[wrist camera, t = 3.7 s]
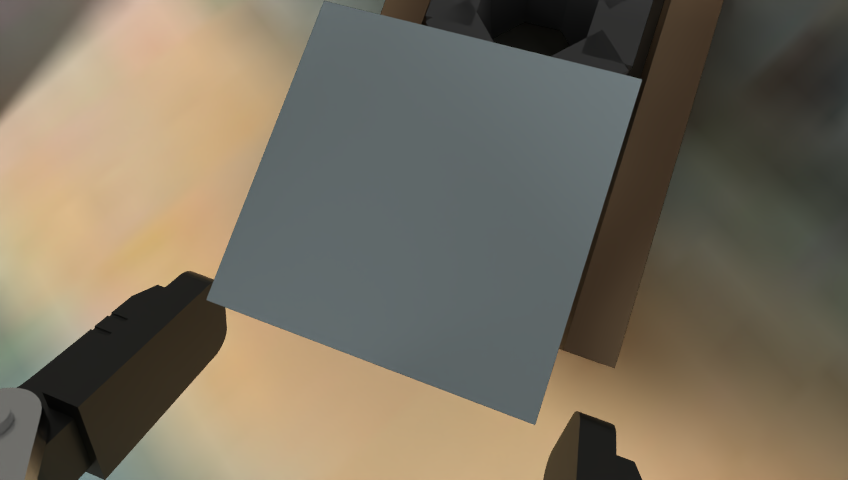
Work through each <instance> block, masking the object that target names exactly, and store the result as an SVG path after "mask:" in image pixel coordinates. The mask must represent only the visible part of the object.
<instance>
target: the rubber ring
mask: <svg viewBox="0 0 848 480" xmlns="http://www.w3.org/2000/svg"><path fill="white" fill-rule="evenodd" d="M652 3H653V0H431V2H430V5H429V7H428V10H427V13H426V15H425V16H426V24H427V26H429V27H433V28H437V29H441V30H445V31H449V32H453V33H457V34H461V35H465V36H469V37H473V38H477V39H481V40H485V41H489V42H493V43H494V41H493V40H492V38H494V37H496V36H498V35H500V34H502V33H504V32H506V31H508V30H510V29H512V28H514V27H515V26H517V25H519V24H521V23H523V22H527V23H531V24H535V25H540V26H544V27H548V28H552V29H557V30H561V32H562V34H563V35H564V37H565V39H566V40H567V42H568V43H569V45H570V47H568V48H566V49H564V50H562V51H560V52H558V53H556V54H554V55H552V56H550V57H554V58H558V59H562V60H566V61H570V62H574V63H578V64H582V65H587V66H591V67H595V68H599V69H603V70H607V71H611V72H615V73H619V74H623V75H628V74H629V72H630V70H631V68H632V66H633V63H634V60H635V57H636V54H637V51H638V47H639V44H640V41H641V38H642V35H643V31H644V28H645V25H646V22H647V19H648V15H649V12H650V9H651V6H652Z"/></svg>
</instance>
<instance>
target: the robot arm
mask: <svg viewBox="0 0 848 480" xmlns="http://www.w3.org/2000/svg"><path fill="white" fill-rule="evenodd" d="M213 281H214V279H211V278H208V277H206V276H203V275H200V274H197V273H195V272H192V271H187V272H184V273H182V274H181V275H179V276H178V277H177V278H176V279H175V280H174V281H172V282H171V283H170V284H169V285H168V286H166V287H162V286H159V285H156V286H154V287H152V288H149V289H147V290H145V291H143V292H140V293H138V294H136V295H133V296H132V297H130V298H129V299H128V300H127V301H125V302H124V303H123V304H122V305H120V306H119V307H118V308H117V309H115V310H114V311H113V312H112V314H111V316H107V317H106V318H104V319H103V320H102V321H101V322H99V323H98V324H97V325H96V326H95V328H94V329H93V330H89V331H88V332H87V333H86V334H84V335H83V336H82V337H81V338H79V339H78V340H77V341H76V342H75V343H73V344H72V345H71V346H70V347H68V348H67V349H66V350H65V351H63V352H62V353H61V354H60V355H58V356H57V357H56V358H55V359H53V360H52V361H51V362H50V363H49V364H47V365H46V366H45V367H44V368H42V369H41V370H40V371H39V372H37V373H36V374H35V375H34V376H32V377H31V378H30V379H29V380H27V381H26V382H25V383H23V384H22V385H20V386H19V387H17V388H2V389H0V480H78V479H79V478H80V477H81V476H82V475H83V474H84V473H85V472H88V473H90V474H93V475H95V476H97V477H99V478H101V479H104V480H105V479H106V478H107V477H108V476H109V475H110V474H111V473H112V472H113V470H114V469H115V468H116V467H117V466H118V465H119V464H120V462H121V461H122V460H123V459H124V458H125V457H126V456H127V455H128V453H129V452H130V451H131V450H132V449H133V448H134V447H135V446H136V444H137V443H138V442H139V441H140V440H141V439H142V438H143V437H144V435H145V434H146V433H147V432H148V431H149V430H150V429H151V428H152V426H153V425H154V424H155V423H156V422H157V421H158V420H159V418H160V417H161V416H162V415H163V414H164V413H165V412H166V411H167V409H168V408H169V407H170V406H171V405H172V404H173V403H174V402H175V400H176V399H177V398H178V397H179V396H180V395H181V394H182V393H183V391H184V390H185V389H186V388H187V387H188V386H189V385H190V384H191V382H192V381H193V380H194V379H195V378H196V377H197V376H198V375H199V373H200V372H201V371H202V370H203V369H204V368H205V367H206V365H207V364H208V363H209V362H210V361H211V360H212V359H213V358H214V356H215V355H216V354H217V353H218V351H219V350H220V348H221V346H222V344H223V342H224V339H225V336H226V331H227V325H226V311H225V307H223V306H221V305H218V304H215V303H213V302H210V301H208V300H206V299H207V297H208V294H209V291H210V289H211V286H212V284H213ZM543 480H642V478H641V476H640V474H639V471H638V469H637V467H636V464H635V462H633V461H631V460H628V459H625V458H623V457H620V456H617V455H616V429H615V426H614V425H613V424H611V423H608V422H605V421H603V420H600V419H597V418H594V417H592V416H589V415H586V414H583V413H581V412H578V411H576V412H575V413H574V414H573V416H572V417H571V419H570V421H569V423H568V424H567V426H566V428H565V429H564V431H563V433H562V435H561V436H560V438H559V440H558V441H557V443H556V445H555V447H554V448H553V450H552V452H551V454H550V457H549V459H548V462H547V466H546V469H545V474H544V479H543Z"/></svg>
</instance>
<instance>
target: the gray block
mask: <svg viewBox="0 0 848 480" xmlns="http://www.w3.org/2000/svg"><path fill="white" fill-rule="evenodd" d="M641 82H642V79H639V78H635V77H631V76H627V75H623V74H619V73H615V72H611V71H607V70H603V69H599V68H595V67H591V66H587V65H582V64H578V63H574V62H570V61H566V60H562V59H558V58H554V57H550V56H546V55H542V54H538V53H534V52H530V51H526V50H522V49H518V48H514V47H510V46H506V45H502V44H497V43H493V42H489V41H485V40H481V39H477V38H473V37H469V36H465V35H461V34H457V33H453V32H449V31H445V30H441V29H437V28H433V27H429V26H425V25H421V24H417V23H412V22H408V21H404V20H400V19H396V18H392V17H388V16H384V15H380V14H376V13H372V12H368V11H364V10H360V9H356V8H352V7H348V6H344V5H340V4H336V3H332V2H327V1H324V2H323V5H322V7H321V10H320V12H319V15H318V17H317V20H316V22H315V25H314V27H313V30H312V33H311V35H310V38H309V40H308V43H307V45H306V48H305V50H304V53H303V55H302V58H301V60H300V63H299V66H298V68H297V71H296V73H295V76H294V78H293V81H292V83H291V86H290V88H289V91H288V93H287V96H286V99H285V101H284V104H283V106H282V109H281V111H280V114H279V116H278V119H277V121H276V124H275V126H274V129H273V132H272V134H271V137H270V139H269V142H268V144H267V147H266V149H265V152H264V154H263V157H262V159H261V162H260V165H259V167H258V170H257V172H256V175H255V177H254V180H253V182H252V185H251V187H250V190H249V192H248V195H247V198H246V200H245V203H244V205H243V208H242V210H241V213H240V215H239V218H238V220H237V223H236V225H235V228H234V231H233V233H232V236H231V238H230V241H229V243H228V246H227V248H226V251H225V253H224V256H223V258H222V261H221V264H220V266H219V269H218V271H217V274H216V276H215V279H214V281H213V284H212V286H211V289H210V291H209V294H208V297H207V299H206V300H208V301H210V302H213V303H215V304H218V305H221V306H223V307H226V308H229V309H231V310H234V311H236V312H239V313H242V314H244V315H247V316H250V317H252V318H255V319H258V320H260V321H263V322H265V323H268V324H271V325H273V326H276V327H279V328H281V329H284V330H286V331H289V332H292V333H294V334H297V335H300V336H302V337H305V338H308V339H310V340H313V341H315V342H318V343H321V344H323V345H326V346H329V347H331V348H334V349H336V350H339V351H342V352H344V353H347V354H350V355H352V356H355V357H357V358H360V359H363V360H365V361H368V362H371V363H373V364H376V365H379V366H381V367H384V368H386V369H389V370H392V371H394V372H397V373H400V374H402V375H405V376H407V377H410V378H413V379H415V380H418V381H421V382H423V383H426V384H429V385H431V386H434V387H436V388H439V389H442V390H444V391H447V392H450V393H452V394H455V395H457V396H460V397H463V398H465V399H468V400H471V401H473V402H476V403H478V404H481V405H484V406H486V407H489V408H492V409H494V410H497V411H500V412H502V413H505V414H507V415H510V416H513V417H515V418H518V419H521V420H523V421H526V422H528V423H531V424H534V425H535V424H536V420H537V417H538V414H539V411H540V408H541V404H542V401H543V398H544V395H545V391H546V388H547V385H548V382H549V379H550V375H551V372H552V369H553V366H554V362H555V359H556V356H557V353H558V350H559V346H560V343H561V340H562V337H563V333H564V330H565V327H566V324H567V320H568V317H569V314H570V311H571V308H572V304H573V301H574V298H575V295H576V291H577V288H578V285H579V282H580V279H581V275H582V272H583V269H584V266H585V262H586V259H587V256H588V253H589V250H590V246H591V243H592V240H593V237H594V233H595V230H596V227H597V224H598V221H599V217H600V214H601V211H602V208H603V204H604V201H605V198H606V195H607V192H608V188H609V185H610V182H611V179H612V175H613V172H614V169H615V166H616V162H617V159H618V156H619V153H620V150H621V146H622V143H623V140H624V137H625V133H626V130H627V127H628V124H629V121H630V117H631V114H632V111H633V108H634V104H635V101H636V98H637V95H638V92H639V88H640V85H641Z"/></svg>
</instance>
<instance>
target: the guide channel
mask: <svg viewBox="0 0 848 480" xmlns="http://www.w3.org/2000/svg"><path fill="white" fill-rule="evenodd" d="M723 1H724V0H665V1H664V4H663V7H662V11H661V14H660V17H659V20H658V23H657V27H656V30H655V33H654V36H653V40H652V43H651V46H650V49H649V53H648V56H647V59H646V62H645V65H644V69H643V72H642V75H641V78H640V79H642V82H641V85H640V88H639V92H638V95H637V98H636V101H635V104H634V108H633V111H632V114H631V117H630V121H629V124H628V127H627V130H626V133H625V137H624V140H623V143H622V146H621V150H620V153H619V156H618V159H617V162H616V166H615V169H614V172H613V175H612V179H611V182H610V185H609V188H608V192H607V195H606V198H605V201H604V204H603V208H602V211H601V214H600V217H599V221H598V224H597V227H596V230H595V233H594V237H593V240H592V243H591V246H590V250H589V253H588V256H587V259H586V262H585V266H584V269H583V272H582V275H581V279H580V282H579V285H578V288H577V291H576V295H575V298H574V301H573V304H572V308H571V311H570V314H569V317H568V320H567V324H566V327H565V330H564V333H563V337H562V340H561V343H560V346H559V349H561V350H564V351H567V352H570V353H573V354H575V355H578V356H581V357H584V358H587V359H590V360H593V361H595V362H598V363H601V364H604V365H607V366H610V367H613V368H615V366H616V362H617V359H618V356H619V352H620V349H621V346H622V342H623V339H624V335H625V332H626V329H627V325H628V322H629V318H630V315H631V312H632V308H633V305H634V302H635V298H636V295H637V291H638V288H639V285H640V281H641V278H642V275H643V271H644V268H645V264H646V261H647V258H648V254H649V251H650V247H651V244H652V241H653V237H654V234H655V231H656V227H657V224H658V220H659V217H660V214H661V210H662V207H663V204H664V200H665V197H666V193H667V190H668V187H669V183H670V180H671V177H672V173H673V170H674V166H675V163H676V160H677V156H678V153H679V149H680V146H681V143H682V139H683V136H684V133H685V129H686V126H687V122H688V119H689V116H690V112H691V109H692V106H693V102H694V99H695V95H696V92H697V89H698V85H699V82H700V78H701V75H702V72H703V68H704V65H705V62H706V58H707V55H708V51H709V48H710V45H711V41H712V38H713V35H714V31H715V28H716V24H717V21H718V18H719V14H720V11H721V8H722V4H723ZM430 2H431V0H385V3H384V6H383V8H382V11H381V14H380V15H384V16H388V17H392V18H396V19H400V20H404V21H408V22H412V23H417V24H421V25H425V26H427V24H426V16H425V15H426V13H427V10H428V7H429V5H430Z"/></svg>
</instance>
